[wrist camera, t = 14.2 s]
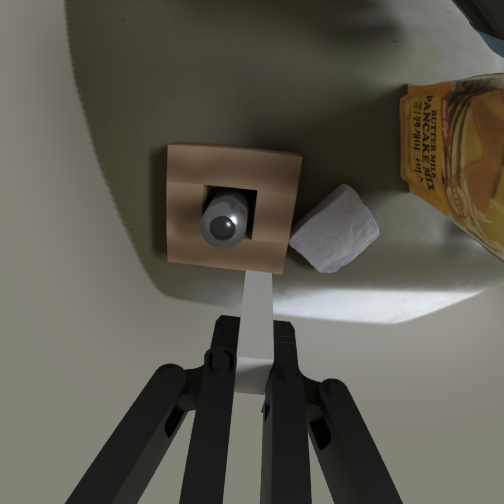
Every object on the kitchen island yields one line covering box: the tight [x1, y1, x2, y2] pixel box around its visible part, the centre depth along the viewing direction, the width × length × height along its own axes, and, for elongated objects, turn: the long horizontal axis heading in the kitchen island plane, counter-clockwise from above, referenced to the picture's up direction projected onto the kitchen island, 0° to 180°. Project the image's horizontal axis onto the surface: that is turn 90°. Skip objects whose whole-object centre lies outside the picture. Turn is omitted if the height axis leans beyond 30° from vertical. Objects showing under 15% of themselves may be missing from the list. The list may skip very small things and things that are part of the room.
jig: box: [166, 142, 303, 275], centre depth 36 cm, size 16×16×4 cm
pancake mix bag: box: [399, 73, 504, 262], centre depth 19 cm, size 7×19×28 cm, turn 6°
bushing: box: [200, 187, 249, 249], centre depth 34 cm, size 5×5×9 cm
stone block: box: [288, 184, 379, 273], centre depth 38 cm, size 12×5×10 cm
